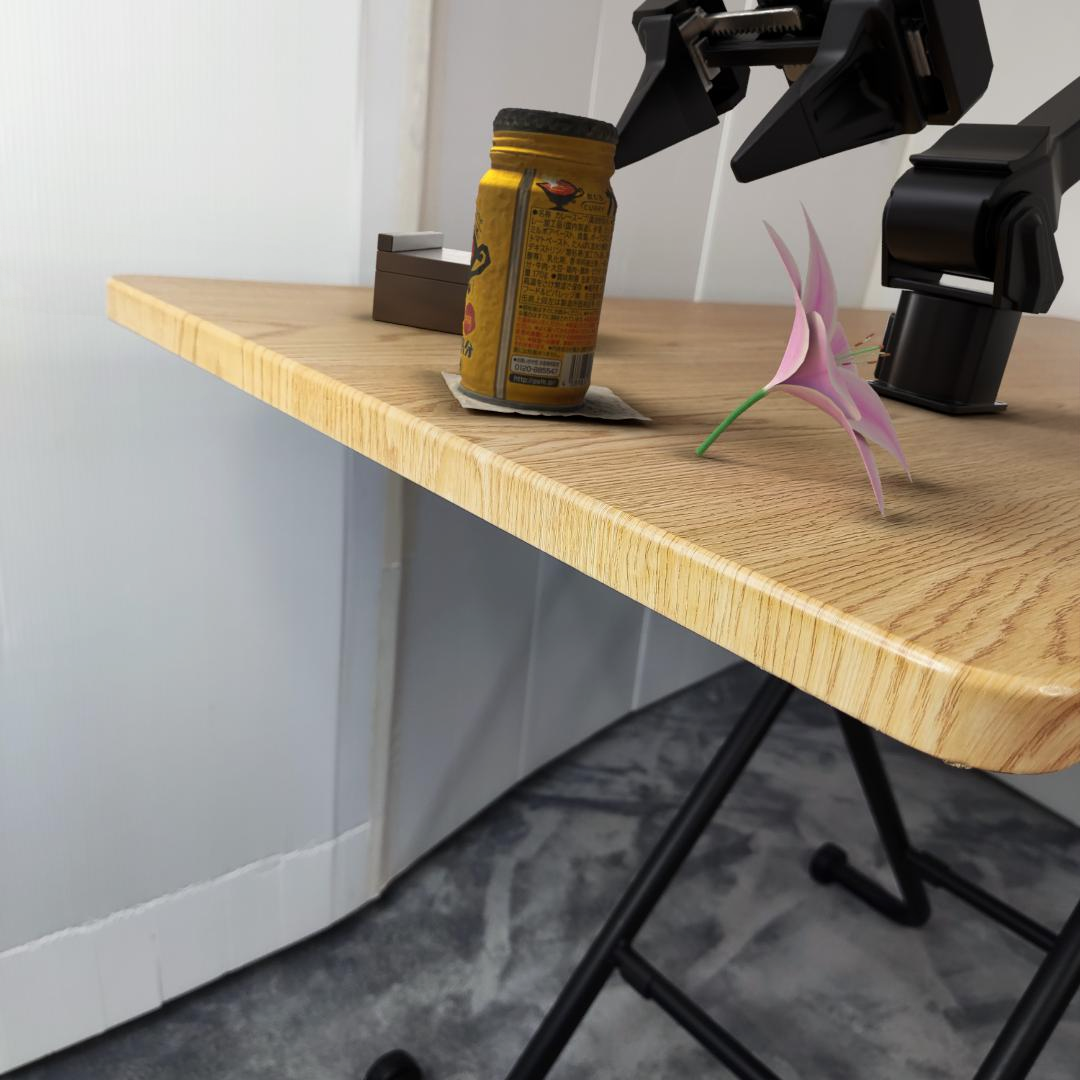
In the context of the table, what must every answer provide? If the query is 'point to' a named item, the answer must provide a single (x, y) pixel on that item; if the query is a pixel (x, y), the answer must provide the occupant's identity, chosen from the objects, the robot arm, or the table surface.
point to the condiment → (540, 269)
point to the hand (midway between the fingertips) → (666, 167)
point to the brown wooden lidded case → (420, 281)
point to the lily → (826, 364)
